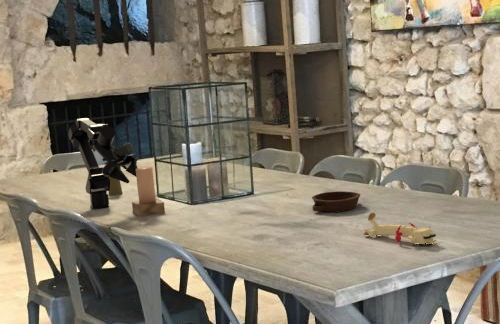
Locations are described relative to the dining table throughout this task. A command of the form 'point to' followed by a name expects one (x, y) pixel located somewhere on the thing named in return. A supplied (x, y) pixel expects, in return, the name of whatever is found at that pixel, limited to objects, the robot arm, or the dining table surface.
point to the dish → (335, 201)
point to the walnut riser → (148, 208)
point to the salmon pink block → (145, 185)
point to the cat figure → (401, 232)
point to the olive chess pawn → (115, 187)
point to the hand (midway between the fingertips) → (134, 180)
